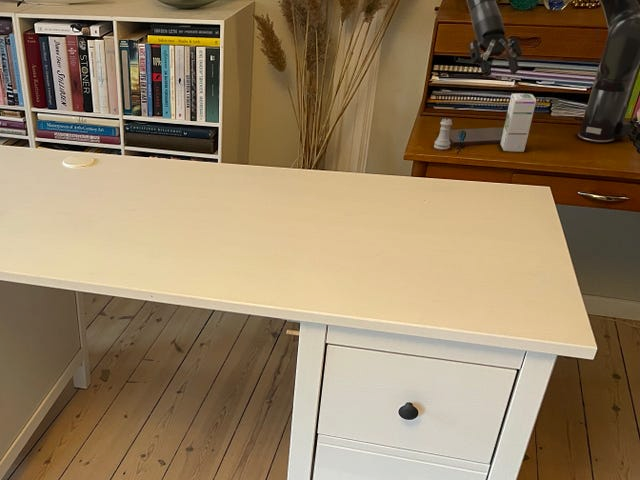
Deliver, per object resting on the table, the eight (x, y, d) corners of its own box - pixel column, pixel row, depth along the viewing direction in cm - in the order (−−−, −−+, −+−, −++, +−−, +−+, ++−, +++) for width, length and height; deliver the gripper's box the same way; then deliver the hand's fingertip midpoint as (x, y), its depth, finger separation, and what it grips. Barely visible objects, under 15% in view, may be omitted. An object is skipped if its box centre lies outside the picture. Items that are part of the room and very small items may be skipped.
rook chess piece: (430, 147, 211) (435, 119, 207) (440, 144, 213) (445, 116, 209) (443, 151, 208) (448, 123, 204) (453, 148, 210) (458, 120, 206)
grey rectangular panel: (505, 130, 222) (505, 127, 221) (521, 142, 213) (522, 138, 212) (439, 133, 221) (440, 130, 221) (453, 145, 212) (454, 142, 212)
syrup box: (524, 152, 206) (538, 99, 198) (502, 151, 207) (514, 98, 199) (520, 145, 211) (534, 93, 202) (498, 144, 212) (511, 92, 203)
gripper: (472, 15, 206) (486, 68, 203) (517, 12, 208) (532, 63, 206) (457, 32, 213) (471, 83, 210) (501, 28, 216) (515, 79, 213)
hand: (501, 73), depth 208 cm, fingers open, 8 cm apart
